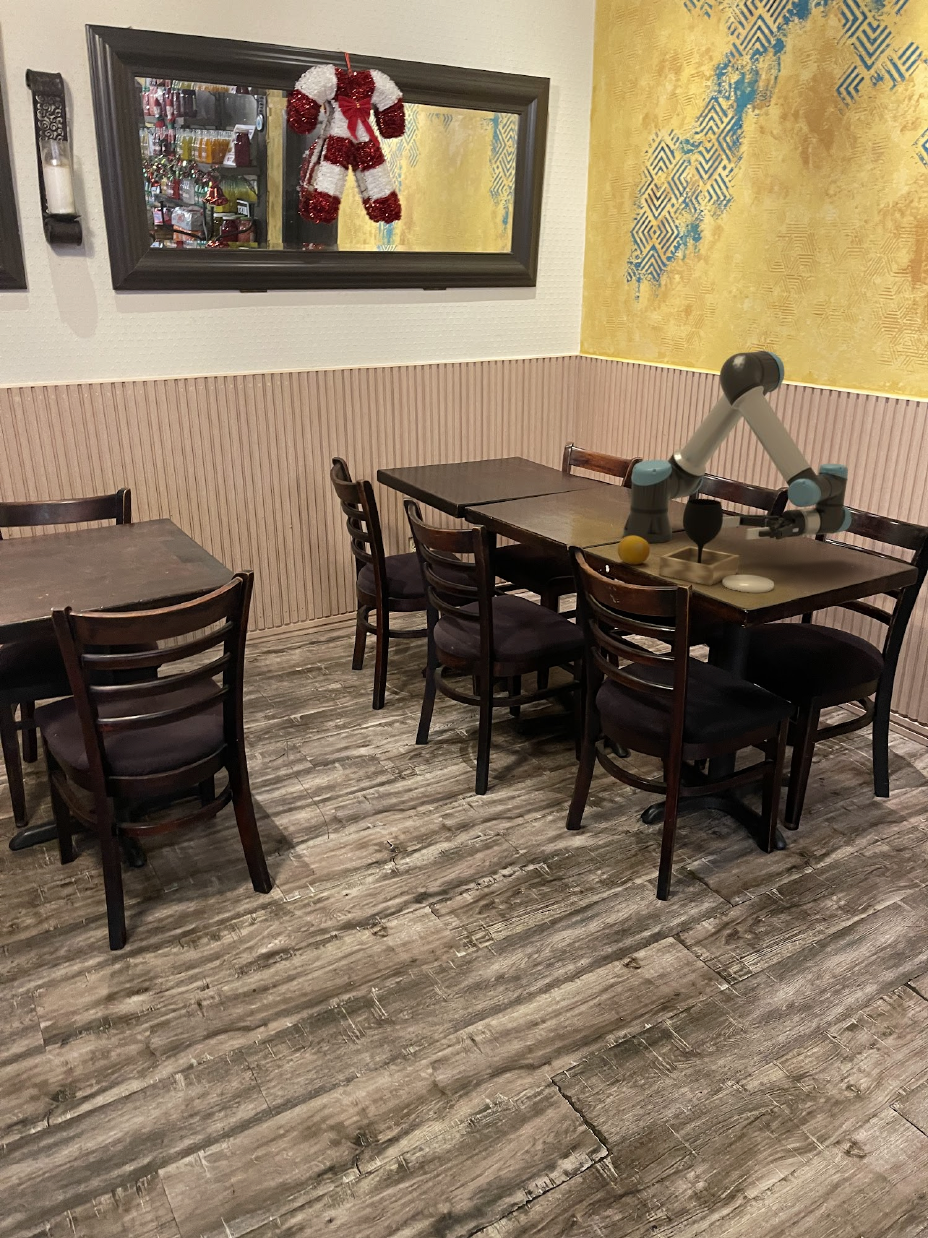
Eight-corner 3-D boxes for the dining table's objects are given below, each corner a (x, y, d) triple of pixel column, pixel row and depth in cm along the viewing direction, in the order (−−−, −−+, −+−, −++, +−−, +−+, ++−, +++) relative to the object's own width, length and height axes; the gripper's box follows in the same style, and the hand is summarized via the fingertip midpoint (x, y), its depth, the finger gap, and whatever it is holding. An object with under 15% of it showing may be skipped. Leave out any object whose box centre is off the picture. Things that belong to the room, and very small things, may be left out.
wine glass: (716, 580, 253) (722, 507, 247) (676, 577, 256) (682, 504, 250) (719, 570, 263) (725, 499, 256) (681, 567, 266) (686, 496, 259)
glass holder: (658, 574, 259) (660, 556, 257) (687, 563, 270) (688, 545, 268) (710, 585, 249) (711, 567, 248) (737, 573, 260) (739, 555, 258)
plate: (713, 585, 249) (713, 582, 249) (736, 575, 258) (736, 571, 258) (759, 596, 241) (760, 592, 240) (782, 584, 250) (782, 581, 250)
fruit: (632, 558, 275) (634, 531, 272) (654, 564, 269) (655, 536, 266) (611, 563, 270) (612, 535, 267) (632, 569, 264) (634, 541, 261)
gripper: (826, 546, 255) (758, 553, 248) (769, 525, 277) (706, 531, 271) (829, 519, 252) (761, 525, 246) (772, 500, 275) (708, 505, 268)
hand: (732, 528), depth 258 cm, fingers open, 13 cm apart
